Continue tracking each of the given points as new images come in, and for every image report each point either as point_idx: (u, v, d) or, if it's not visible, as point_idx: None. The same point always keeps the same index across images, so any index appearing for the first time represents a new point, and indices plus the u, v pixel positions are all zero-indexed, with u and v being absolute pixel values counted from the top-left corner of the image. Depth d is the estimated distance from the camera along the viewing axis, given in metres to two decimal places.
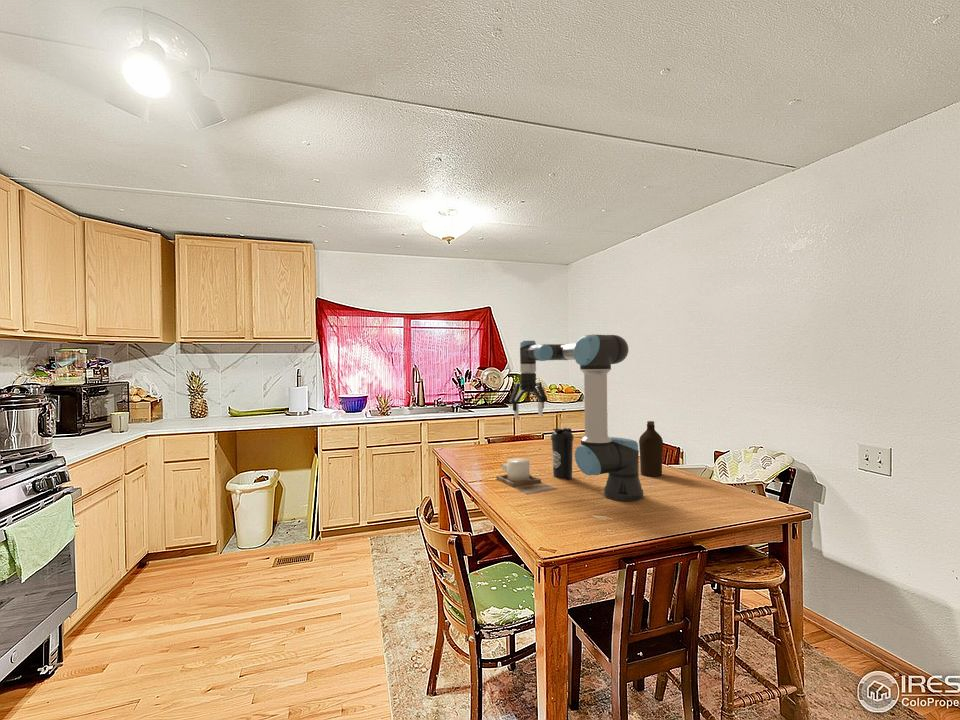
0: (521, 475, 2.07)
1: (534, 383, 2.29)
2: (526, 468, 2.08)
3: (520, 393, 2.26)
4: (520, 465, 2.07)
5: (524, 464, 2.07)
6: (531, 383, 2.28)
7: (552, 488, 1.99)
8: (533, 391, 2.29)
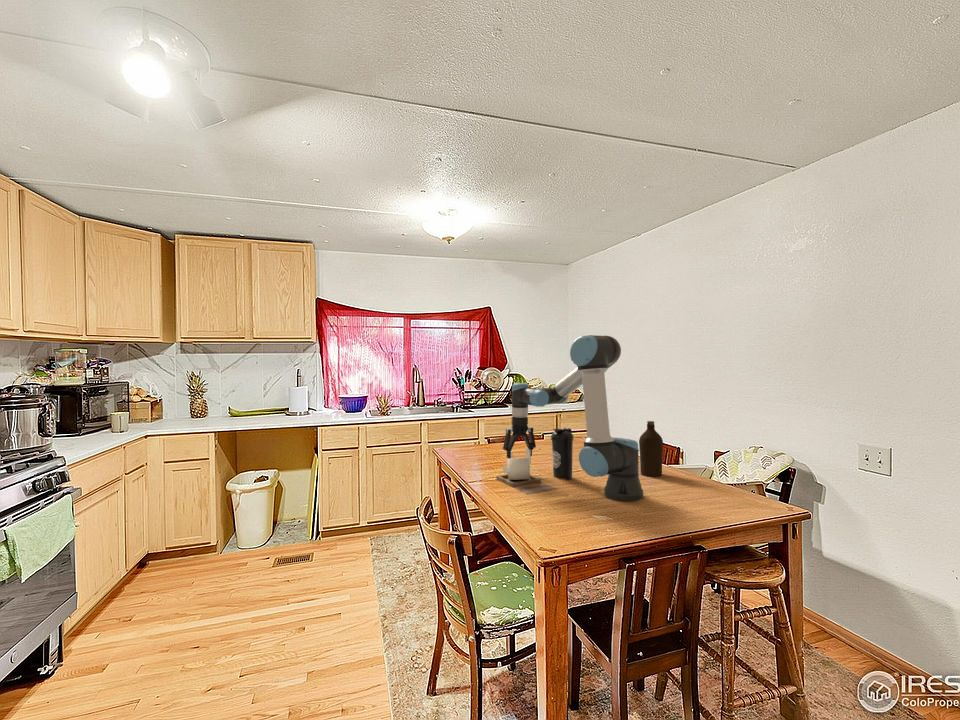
0: (521, 471, 2.07)
1: (526, 427, 2.22)
2: (526, 464, 2.09)
3: (512, 439, 2.19)
4: (520, 460, 2.08)
5: (524, 459, 2.09)
6: (523, 426, 2.21)
7: (552, 488, 1.99)
8: (523, 436, 2.22)
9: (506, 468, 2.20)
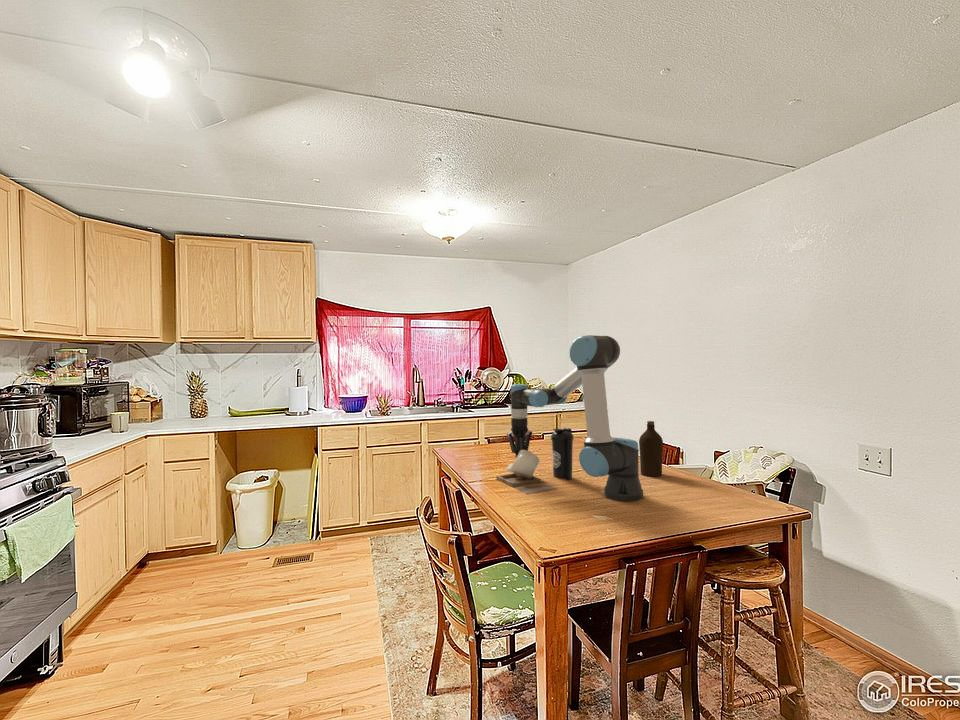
0: (528, 463, 2.09)
1: (526, 428, 2.21)
2: (535, 461, 2.11)
3: (517, 442, 2.20)
4: (531, 454, 2.11)
5: (535, 456, 2.11)
6: None
7: (552, 488, 1.99)
8: (520, 437, 2.21)
9: (511, 465, 2.21)
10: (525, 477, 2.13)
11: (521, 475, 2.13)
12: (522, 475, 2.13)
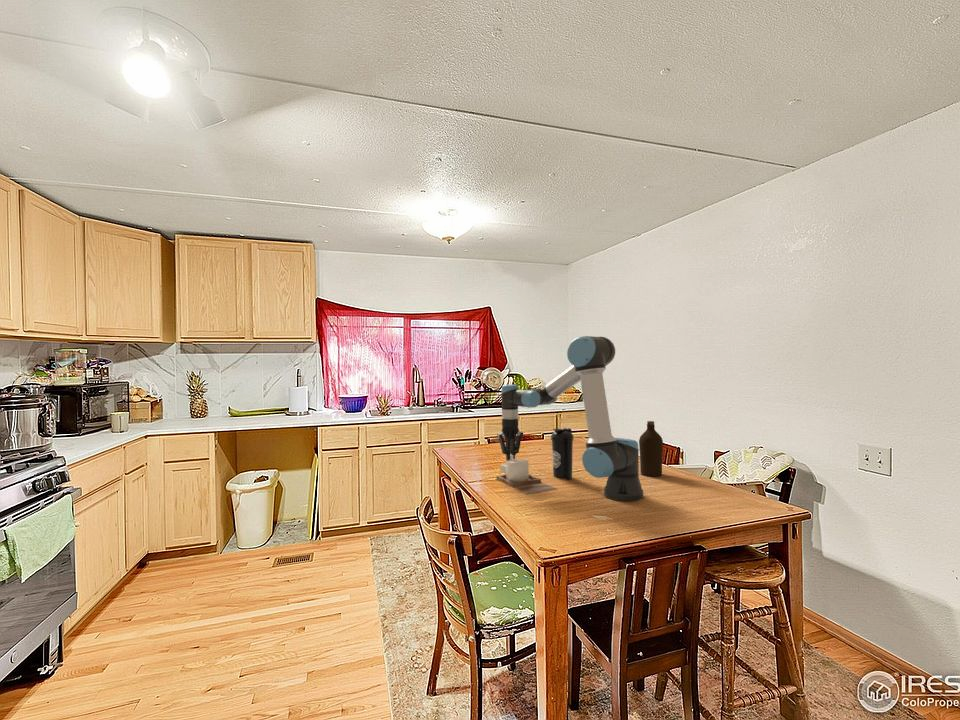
0: (520, 476, 2.06)
1: (517, 429, 2.19)
2: (525, 469, 2.07)
3: (507, 443, 2.17)
4: (519, 466, 2.05)
5: (523, 465, 2.06)
6: (515, 426, 2.19)
7: (552, 488, 1.99)
8: (511, 438, 2.19)
9: (504, 468, 2.18)
10: None
11: None
12: None
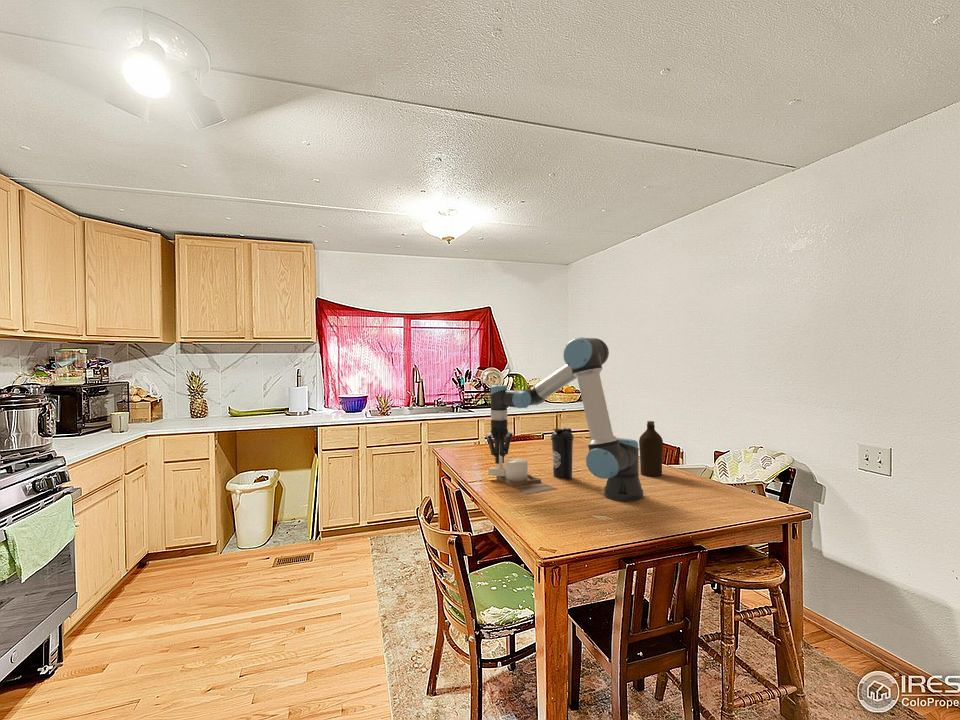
0: (526, 474, 2.08)
1: (506, 430, 2.17)
2: None
3: (496, 444, 2.15)
4: (525, 464, 2.08)
5: None
6: (504, 427, 2.16)
7: (552, 488, 1.99)
8: (500, 439, 2.16)
9: (495, 471, 2.13)
10: None
11: None
12: None
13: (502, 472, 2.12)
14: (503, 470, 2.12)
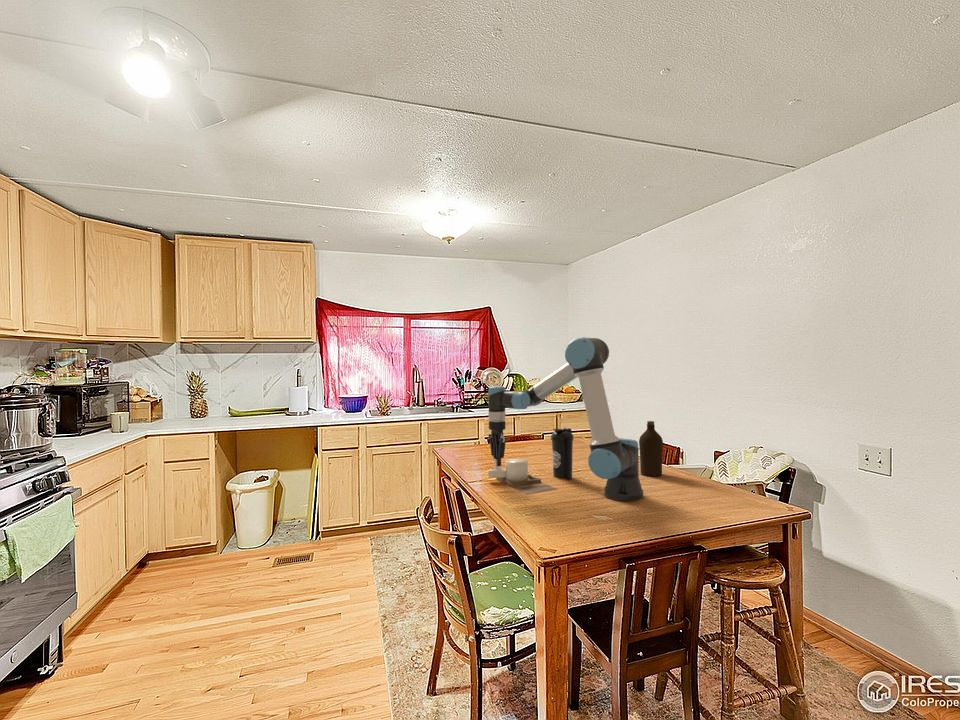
0: (527, 473, 2.10)
1: (498, 433, 2.10)
2: None
3: None
4: (527, 464, 2.09)
5: (527, 462, 2.11)
6: (497, 430, 2.11)
7: (552, 488, 1.99)
8: None
9: (496, 472, 2.10)
10: None
11: None
12: None
13: (503, 473, 2.10)
14: (504, 471, 2.10)
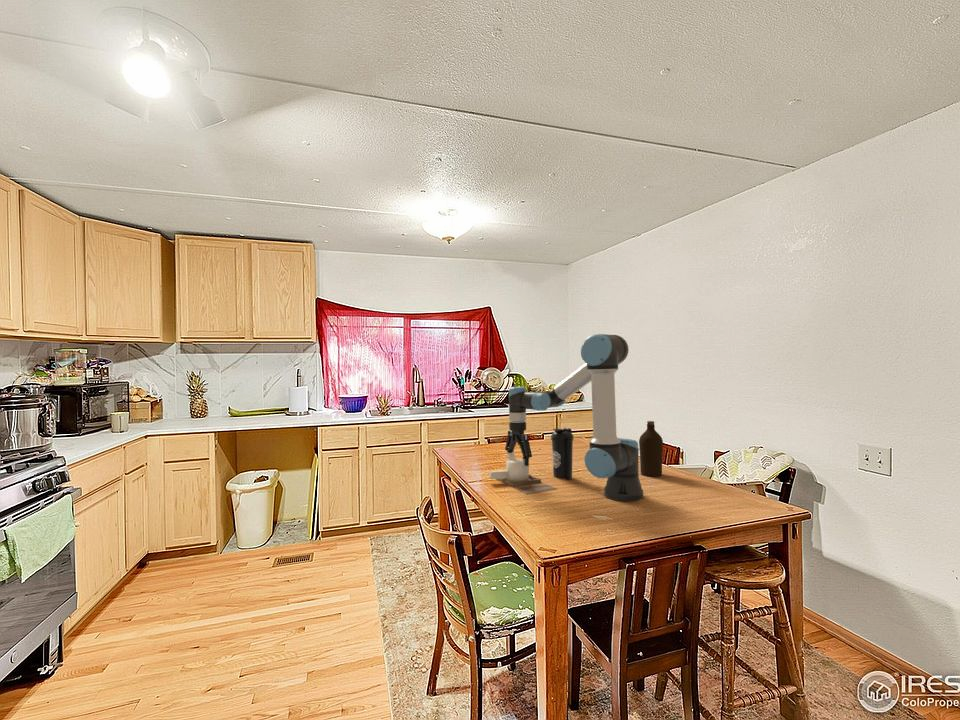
0: (528, 473, 2.11)
1: (519, 434, 2.09)
2: None
3: (511, 442, 2.16)
4: None
5: None
6: (517, 433, 2.10)
7: (552, 488, 1.99)
8: None
9: (498, 474, 2.07)
10: None
11: None
12: None
13: (505, 474, 2.08)
14: (506, 472, 2.08)
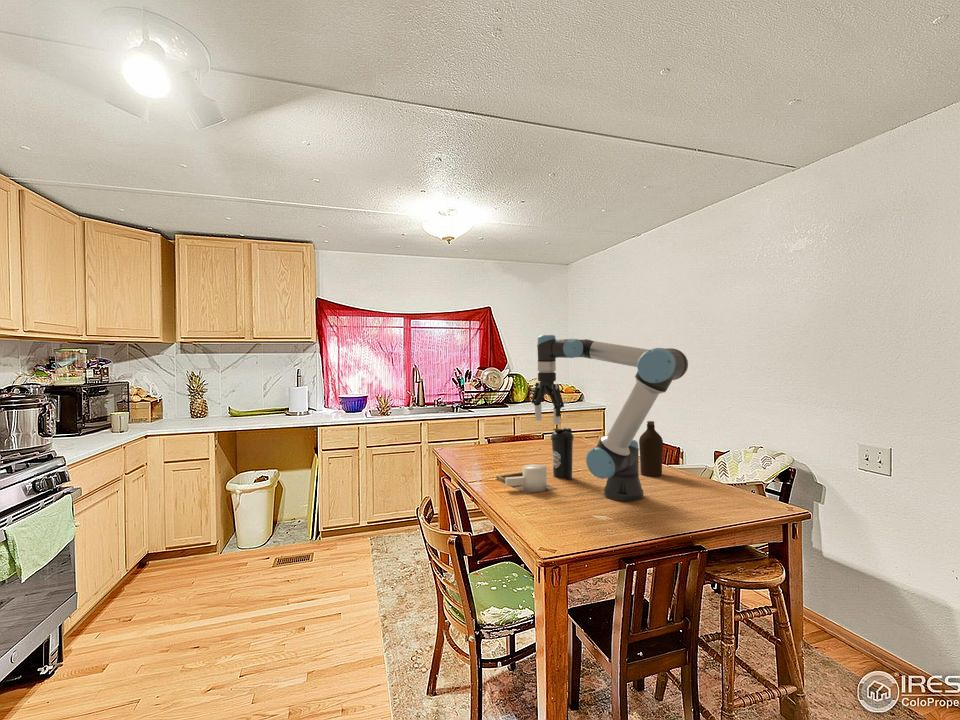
0: (546, 480, 1.99)
1: (548, 384, 1.96)
2: None
3: (539, 394, 2.03)
4: (546, 469, 1.99)
5: None
6: (546, 384, 1.98)
7: (552, 488, 1.99)
8: None
9: (514, 480, 1.96)
10: None
11: None
12: None
13: (522, 480, 1.97)
14: (522, 478, 1.97)
